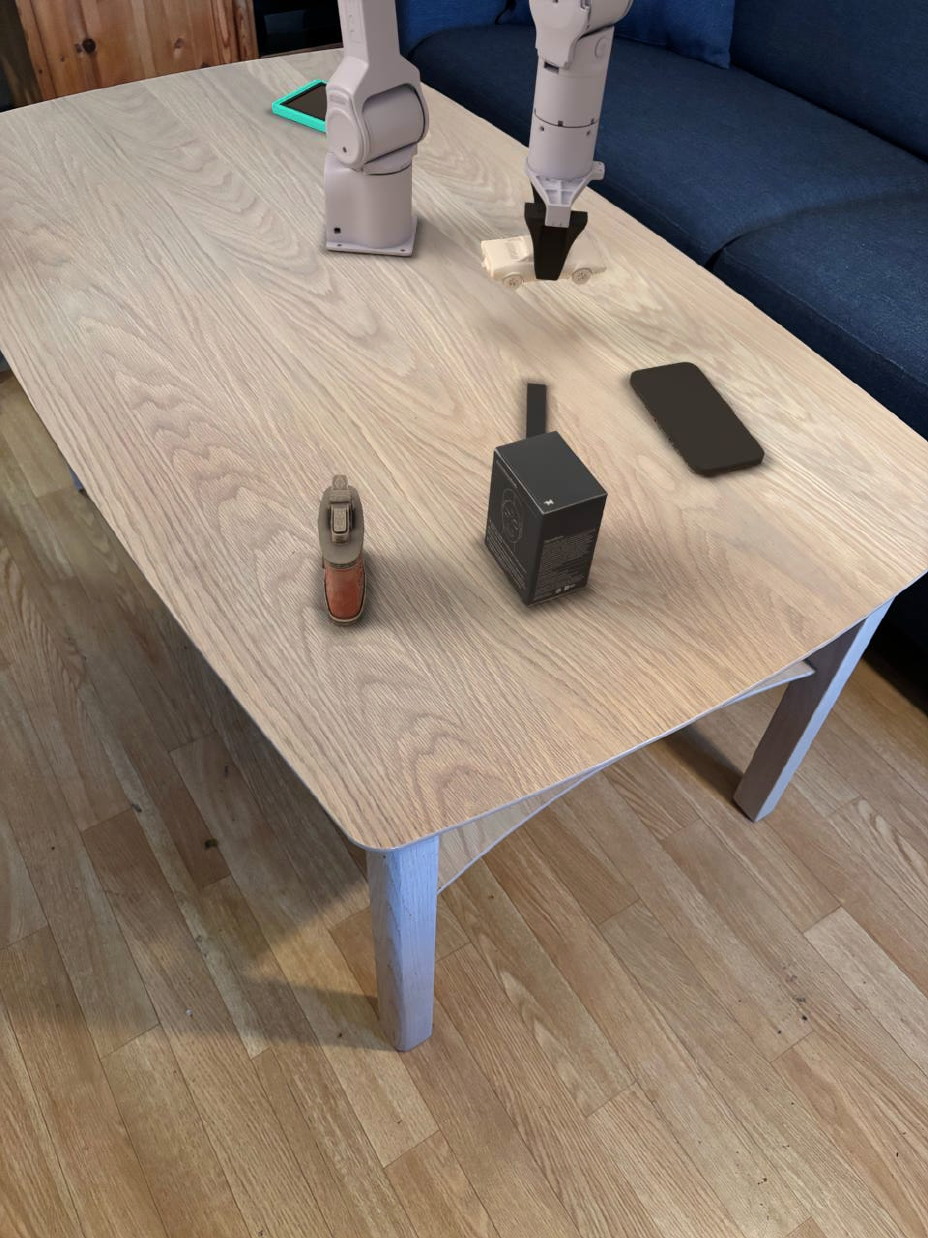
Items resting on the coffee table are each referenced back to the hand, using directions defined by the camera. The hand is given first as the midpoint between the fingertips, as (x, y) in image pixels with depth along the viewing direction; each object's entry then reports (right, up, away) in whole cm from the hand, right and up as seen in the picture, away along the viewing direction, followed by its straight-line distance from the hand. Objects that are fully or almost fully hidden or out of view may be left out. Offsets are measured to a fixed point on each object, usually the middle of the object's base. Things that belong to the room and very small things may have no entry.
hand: (546, 258), depth 93 cm
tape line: (-1, -18, -3) cm, 18 cm away
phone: (+14, -16, -1) cm, 21 cm away
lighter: (-17, -32, -16) cm, 40 cm away
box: (-2, -30, -13) cm, 33 cm away
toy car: (-1, -1, +1) cm, 2 cm away
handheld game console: (-24, +31, +34) cm, 52 cm away
